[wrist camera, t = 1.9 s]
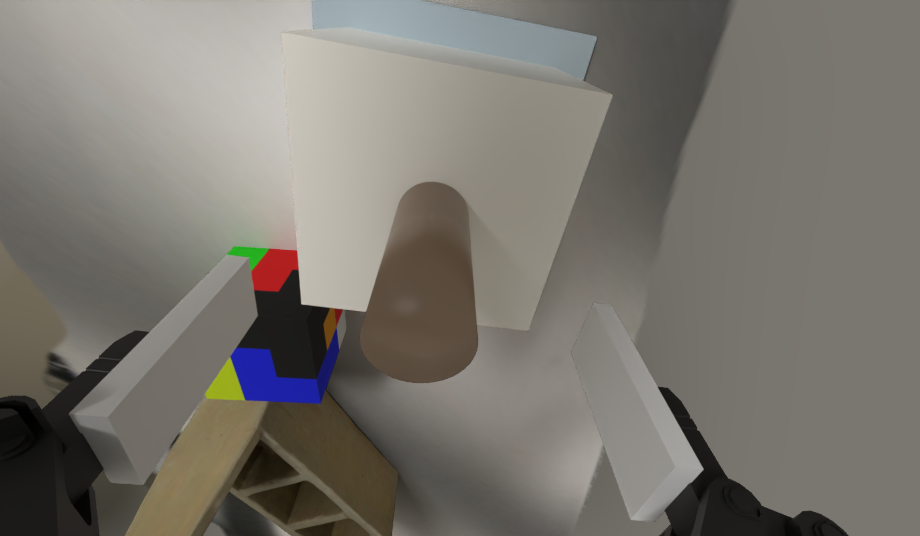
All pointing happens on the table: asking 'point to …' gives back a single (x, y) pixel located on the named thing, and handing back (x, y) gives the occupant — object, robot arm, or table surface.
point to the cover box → (430, 188)
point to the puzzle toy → (281, 338)
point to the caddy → (272, 472)
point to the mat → (461, 30)
